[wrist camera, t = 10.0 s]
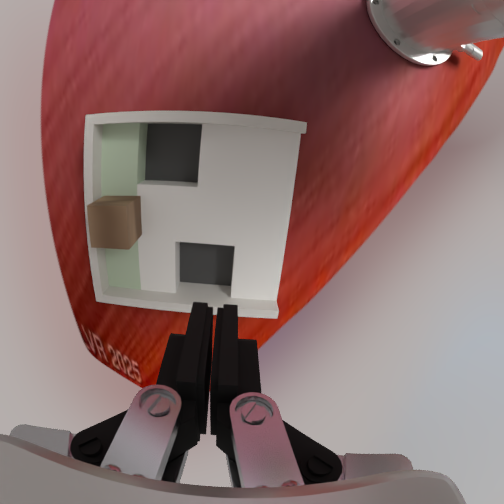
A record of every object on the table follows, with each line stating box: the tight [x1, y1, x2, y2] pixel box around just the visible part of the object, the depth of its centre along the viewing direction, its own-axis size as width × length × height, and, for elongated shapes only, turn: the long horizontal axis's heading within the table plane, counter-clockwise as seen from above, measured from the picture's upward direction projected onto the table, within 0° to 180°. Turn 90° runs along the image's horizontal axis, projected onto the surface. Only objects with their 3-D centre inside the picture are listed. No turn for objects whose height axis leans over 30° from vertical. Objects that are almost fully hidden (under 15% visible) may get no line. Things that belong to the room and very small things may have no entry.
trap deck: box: [84, 111, 307, 319], centre depth 28 cm, size 20×20×5 cm
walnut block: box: [87, 196, 142, 250], centre depth 25 cm, size 4×4×4 cm
